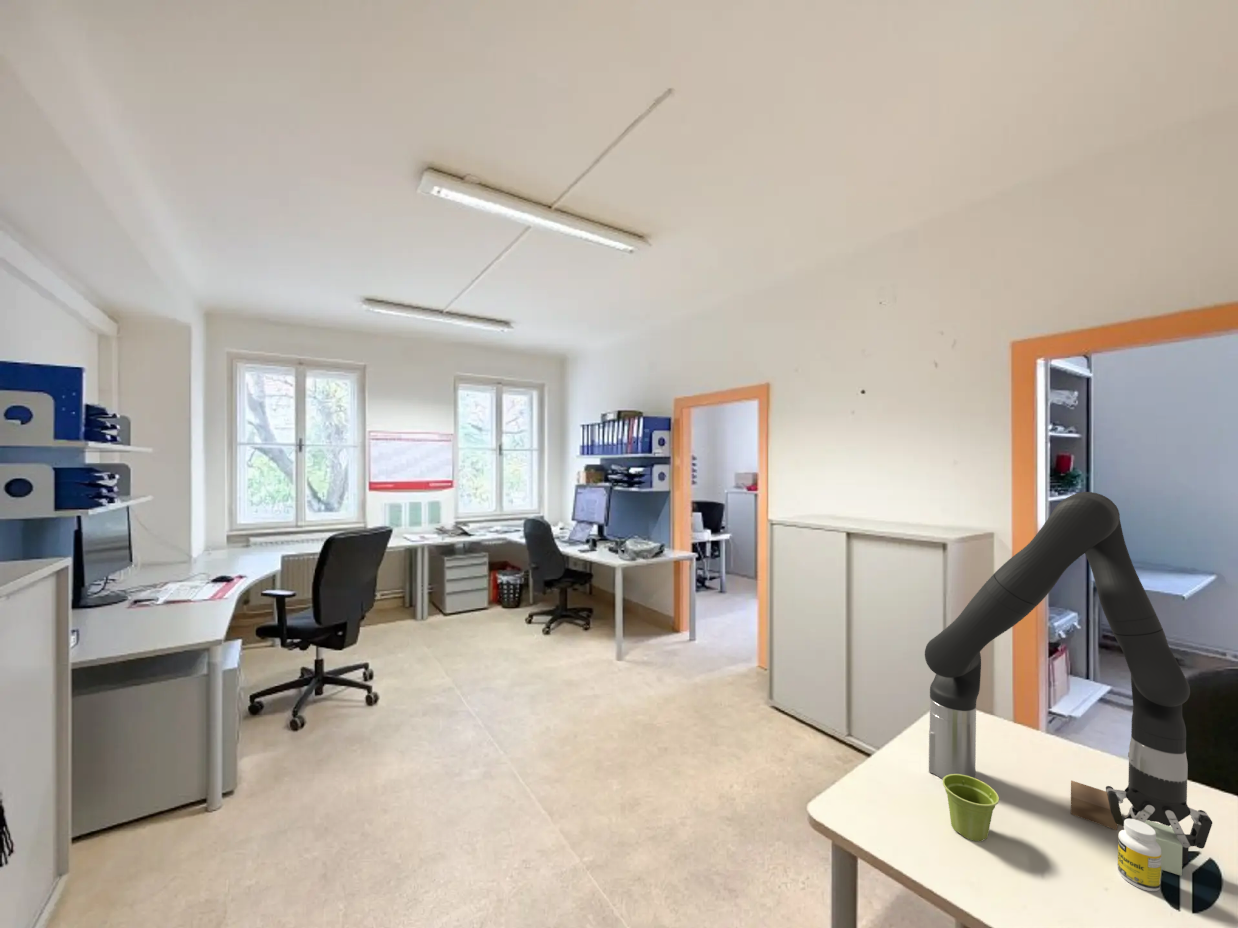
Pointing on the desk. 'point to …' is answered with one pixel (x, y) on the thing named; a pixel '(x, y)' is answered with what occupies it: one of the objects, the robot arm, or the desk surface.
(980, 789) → the plant pot
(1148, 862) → the supplement bottle
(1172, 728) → the robot arm
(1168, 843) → the sage cube
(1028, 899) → the desk surface
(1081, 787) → the walnut block
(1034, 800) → the desk surface
